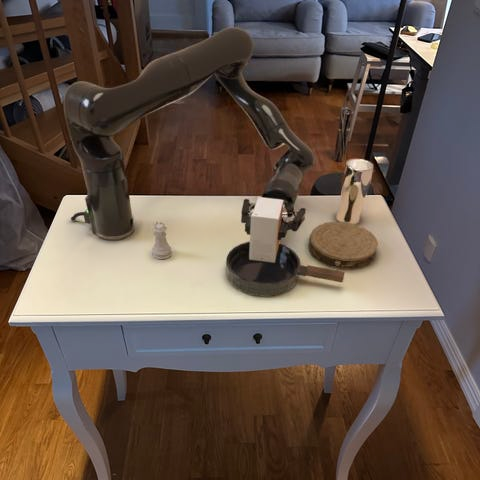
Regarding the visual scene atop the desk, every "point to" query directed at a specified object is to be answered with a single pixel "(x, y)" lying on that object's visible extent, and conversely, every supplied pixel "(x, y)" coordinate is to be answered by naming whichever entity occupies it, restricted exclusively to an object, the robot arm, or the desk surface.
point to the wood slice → (342, 245)
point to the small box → (265, 229)
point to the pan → (262, 271)
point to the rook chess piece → (161, 242)
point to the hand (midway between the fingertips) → (263, 233)
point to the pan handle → (321, 273)
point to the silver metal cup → (354, 189)
